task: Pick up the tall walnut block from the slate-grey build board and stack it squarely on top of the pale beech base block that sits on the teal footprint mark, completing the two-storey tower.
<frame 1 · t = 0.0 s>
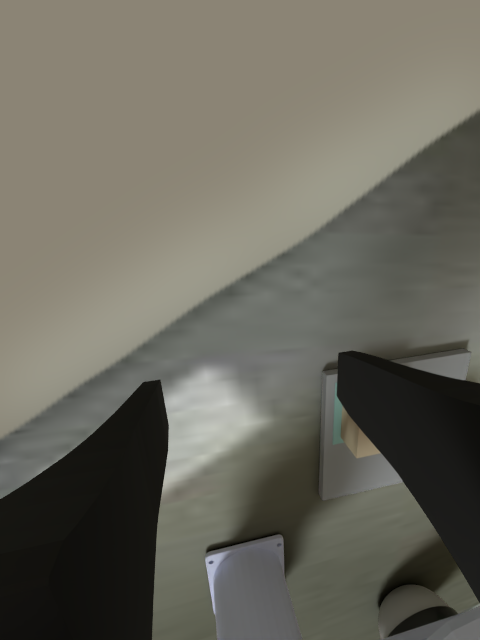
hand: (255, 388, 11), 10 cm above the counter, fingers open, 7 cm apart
build board: (387, 424, 27), on the counter
base block: (367, 409, 24), point 1 cm above the counter, touching build board
egg-shaped speaker: (398, 595, 37), on the counter
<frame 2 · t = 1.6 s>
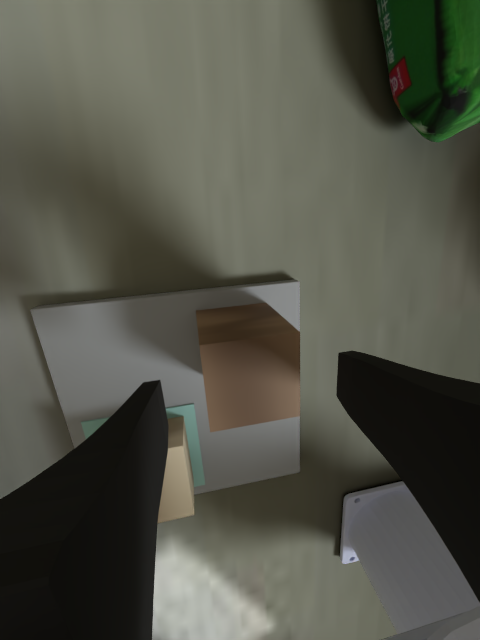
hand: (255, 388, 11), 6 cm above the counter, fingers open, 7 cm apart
build board: (190, 399, 18), on the counter
walnut block: (234, 339, 16), point 1 cm above the counter, touching build board
base block: (148, 456, 17), point 1 cm above the counter, touching build board
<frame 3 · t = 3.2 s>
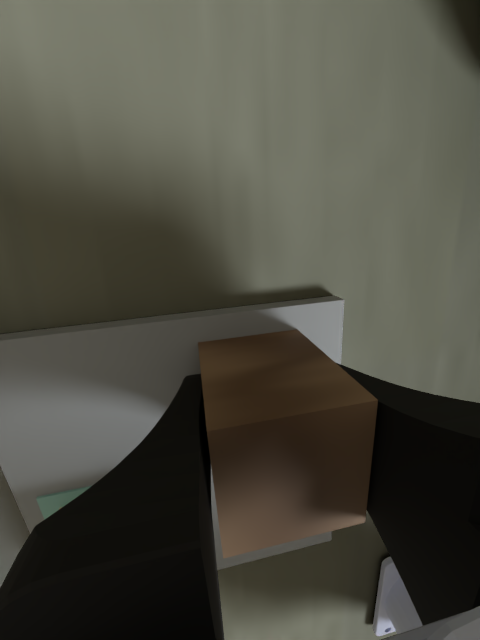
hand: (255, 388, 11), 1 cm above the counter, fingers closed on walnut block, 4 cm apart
build board: (190, 455, 13), on the counter
walnut block: (251, 380, 11), point 1 cm above the counter, touching build board, gripper
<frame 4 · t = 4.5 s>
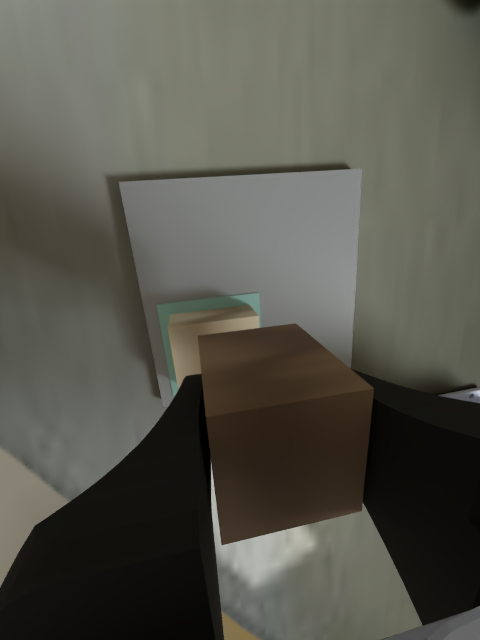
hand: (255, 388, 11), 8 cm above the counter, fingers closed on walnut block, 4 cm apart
build board: (253, 293, 18), on the counter
walnut block: (250, 373, 12), point 8 cm above the counter, touching gripper
base block: (214, 345, 18), point 1 cm above the counter, touching build board
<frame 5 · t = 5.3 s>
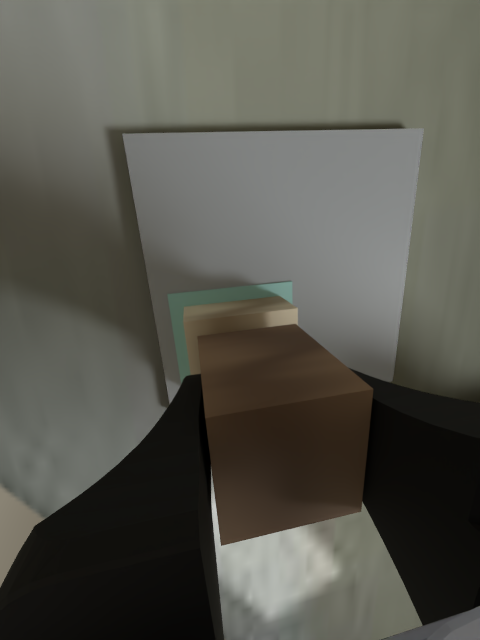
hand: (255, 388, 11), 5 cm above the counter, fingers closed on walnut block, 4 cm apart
build board: (283, 282, 15), on the counter
walnut block: (250, 374, 12), point 4 cm above the counter, touching gripper
base block: (236, 345, 15), point 1 cm above the counter, touching build board
when the fingers open (5 cm above the counter, at t = 6.0 s): walnut block stays where it is, resting on base block.
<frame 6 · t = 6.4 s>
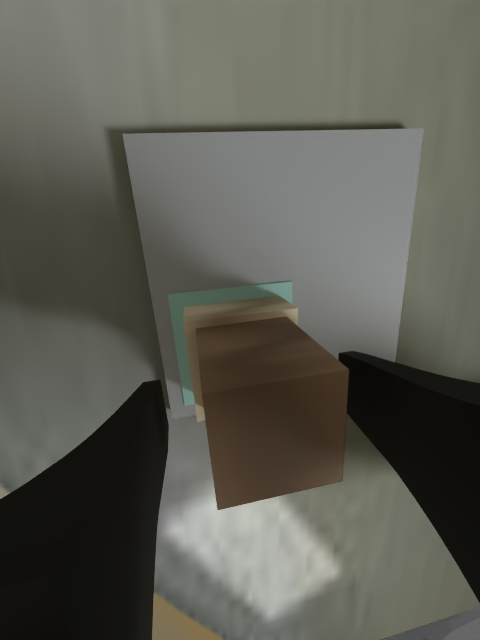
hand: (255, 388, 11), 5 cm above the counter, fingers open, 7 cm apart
build board: (283, 282, 15), on the counter
walnut block: (245, 363, 12), point 3 cm above the counter, touching base block
base block: (236, 345, 15), point 1 cm above the counter, touching build board, walnut block
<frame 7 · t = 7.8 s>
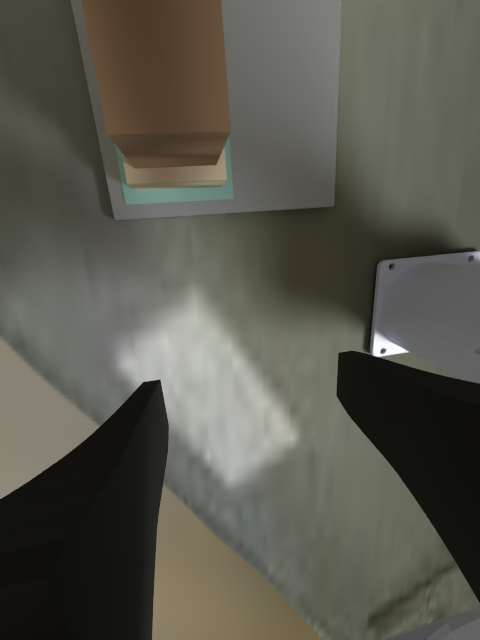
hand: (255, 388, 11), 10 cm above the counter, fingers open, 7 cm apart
build board: (219, 84, 16), on the counter
walnut block: (170, 119, 13), point 3 cm above the counter, touching base block
base block: (173, 140, 16), point 1 cm above the counter, touching build board, walnut block
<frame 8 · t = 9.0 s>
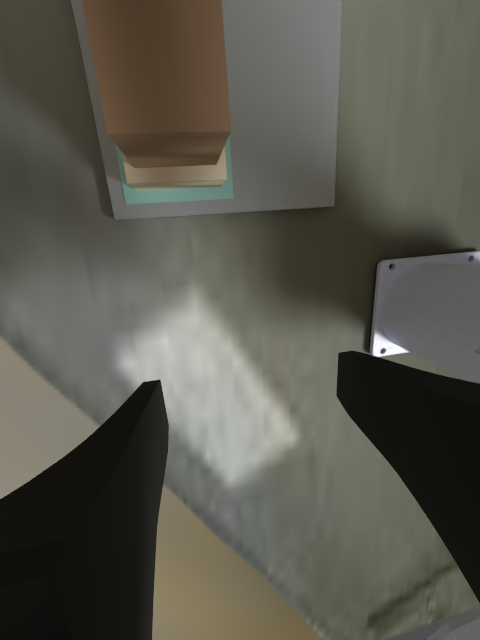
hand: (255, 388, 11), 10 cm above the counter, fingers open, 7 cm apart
build board: (219, 83, 16), on the counter
walnut block: (170, 119, 13), point 3 cm above the counter, touching base block
base block: (173, 139, 16), point 1 cm above the counter, touching build board, walnut block
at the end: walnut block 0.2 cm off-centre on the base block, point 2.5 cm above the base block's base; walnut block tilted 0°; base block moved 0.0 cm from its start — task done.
